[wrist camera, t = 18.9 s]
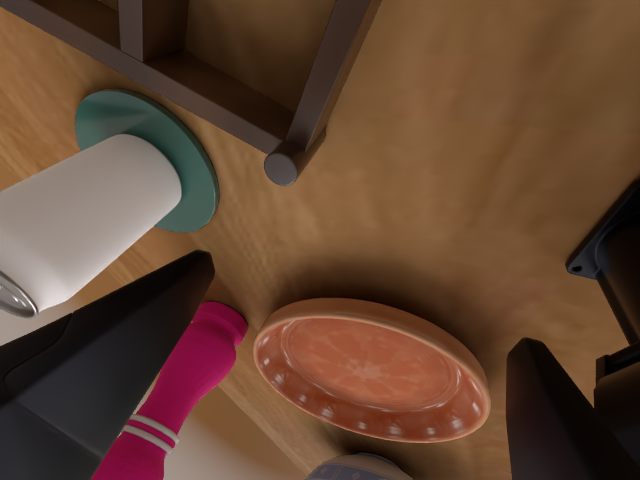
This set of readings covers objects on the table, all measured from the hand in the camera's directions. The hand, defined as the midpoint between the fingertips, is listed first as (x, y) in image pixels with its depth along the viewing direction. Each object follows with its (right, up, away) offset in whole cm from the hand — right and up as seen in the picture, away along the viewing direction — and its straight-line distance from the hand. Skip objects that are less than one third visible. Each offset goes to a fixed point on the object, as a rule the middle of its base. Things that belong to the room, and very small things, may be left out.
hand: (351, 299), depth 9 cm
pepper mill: (-12, -7, +28) cm, 32 cm away
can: (-14, +7, +16) cm, 22 cm away
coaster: (-14, +7, +16) cm, 23 cm away
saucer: (+4, -11, +24) cm, 27 cm away
